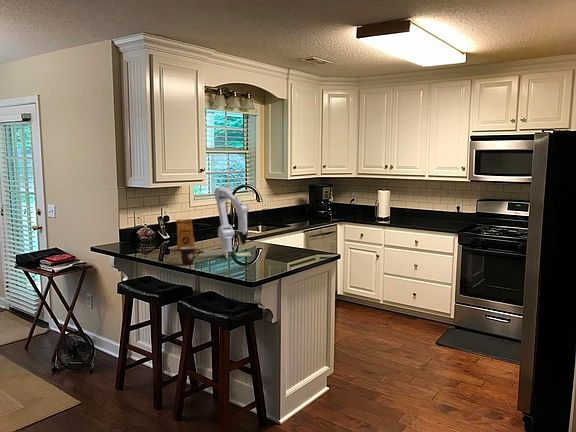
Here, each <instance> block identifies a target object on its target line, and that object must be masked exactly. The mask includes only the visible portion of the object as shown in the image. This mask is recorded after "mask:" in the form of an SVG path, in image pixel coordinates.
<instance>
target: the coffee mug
mask: <svg viewBox="0 0 576 432" xmlns="http://www.w3.org/2000/svg"><path fill="white" fill-rule="evenodd" d="M197 250H198V253H197V254H196V255H195V252H196V251H197ZM179 251H180V254H181V261H182V266H193V265H194V262H195V260H194V259H196V258H197V257H199V254H200V253H201V251H200V249H199V248H196V247H182V248H180V250H179Z"/></svg>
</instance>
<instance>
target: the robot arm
mask: <svg viewBox="0 0 576 432" xmlns="http://www.w3.org/2000/svg"><path fill="white" fill-rule="evenodd" d="M231 189H232V188H231ZM231 189H230V187H216V188H215V189H214V192H213V194H214V200H215V202H216V207H217V211H218V216H219V221H220V223H219V224H220V225H219V227H218V228H217V235H218V238H219V239H220V249H219V250H223V249H225V250H226V251H227V252H228V253H233V252H234V251H233V249H232V248H233V246H232V239H233V237H234V235H235V231H234V229H233V226H232V224H230V223H229V219H228V214H227V210H226V204H225V202H226V201H227V200H229V201H230V202H231V205H232V206H233V208H234V209H235V211H236V216H237V219H238V221H237V222H238V223H237V225H238V227H237V229H236V232H238V233H237V234H238V237H239V240H240V241H241V242H242V244H245V243H246V244H247V238H248V236H249V233H247V232H248V230H249V229H248V213H249V210H250V209H249V206H248V204H245V203H243V202H242V201H241V200H240V198H239V197H238V198H237V197H235V195H234V194H233V193H232V190H231Z"/></svg>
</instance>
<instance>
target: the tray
mask: <svg viewBox="0 0 576 432" xmlns="http://www.w3.org/2000/svg"><path fill="white" fill-rule="evenodd" d="M235 256H236V257H237V258H240V257H241V258H242V257H252V254H251V253H250V251H248V252H235Z"/></svg>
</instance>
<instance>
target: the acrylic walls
mask: <svg viewBox="0 0 576 432" xmlns="http://www.w3.org/2000/svg"><path fill="white" fill-rule="evenodd" d="M228 254H229V252H227V251H226V250H225V249H223V250H220V249H211V250H210V249H209V250H207V249H206V250H205V249H204V250H203V257H207V256H208V257H210V256H225V258H226V259H228V258H229V255H228Z"/></svg>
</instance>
